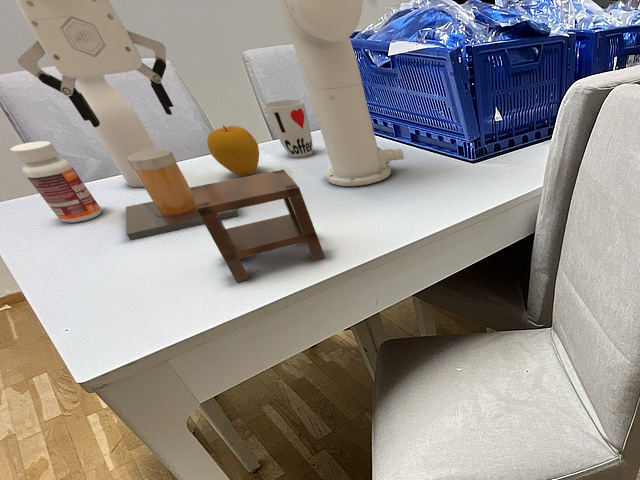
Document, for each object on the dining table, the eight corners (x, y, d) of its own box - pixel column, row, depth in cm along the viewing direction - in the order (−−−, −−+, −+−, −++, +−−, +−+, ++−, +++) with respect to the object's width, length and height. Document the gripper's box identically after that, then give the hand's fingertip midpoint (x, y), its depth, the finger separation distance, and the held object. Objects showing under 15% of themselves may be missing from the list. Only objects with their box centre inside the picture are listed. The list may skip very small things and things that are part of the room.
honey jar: (197, 198, 81) (169, 146, 75) (200, 209, 77) (172, 155, 71) (157, 206, 78) (125, 153, 72) (159, 217, 75) (126, 163, 69)
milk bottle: (180, 179, 92) (114, 58, 78) (140, 190, 88) (63, 65, 74) (161, 173, 95) (94, 56, 81) (122, 184, 91) (44, 62, 77)
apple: (239, 166, 97) (218, 119, 91) (277, 167, 96) (258, 119, 90) (213, 180, 91) (188, 130, 85) (253, 181, 90) (231, 131, 84)
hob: (227, 192, 86) (224, 186, 85) (238, 215, 77) (235, 209, 77) (129, 212, 80) (125, 206, 79) (130, 240, 71) (125, 233, 70)
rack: (309, 236, 71) (283, 169, 64) (325, 258, 65) (299, 186, 58) (227, 258, 66) (189, 187, 59) (236, 283, 60) (196, 208, 54)
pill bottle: (102, 218, 78) (52, 146, 70) (59, 226, 76) (2, 153, 68) (104, 207, 82) (56, 137, 74) (62, 215, 79) (9, 144, 71)
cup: (284, 161, 99) (264, 109, 92) (281, 152, 104) (261, 102, 97) (322, 155, 102) (305, 104, 95) (316, 147, 107) (300, 97, 100)
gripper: (-54, -32, 51) (64, 135, 63) (121, -41, 57) (198, 113, 70) (-40, -31, 56) (68, 125, 68) (121, -39, 62) (193, 105, 74)
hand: (134, 119), depth 69 cm, fingers open, 9 cm apart
